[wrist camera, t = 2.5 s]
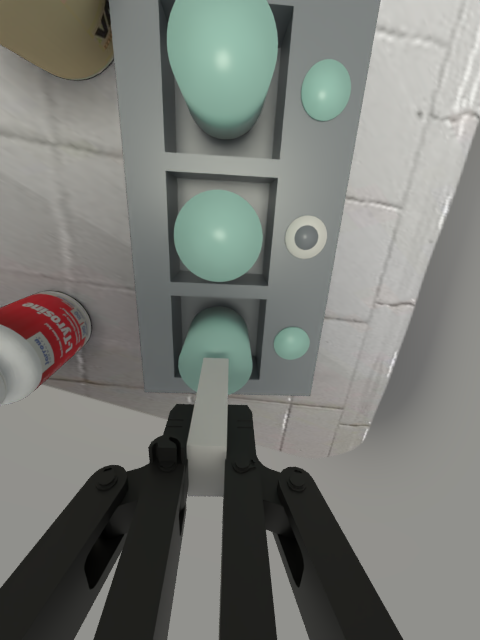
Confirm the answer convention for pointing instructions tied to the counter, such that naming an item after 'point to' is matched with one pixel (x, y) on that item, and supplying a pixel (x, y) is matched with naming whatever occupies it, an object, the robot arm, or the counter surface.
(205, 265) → the button
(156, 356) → the board
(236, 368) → the button
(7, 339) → the pill bottle
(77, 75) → the coffee cup
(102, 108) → the counter surface
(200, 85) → the button
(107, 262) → the counter surface
